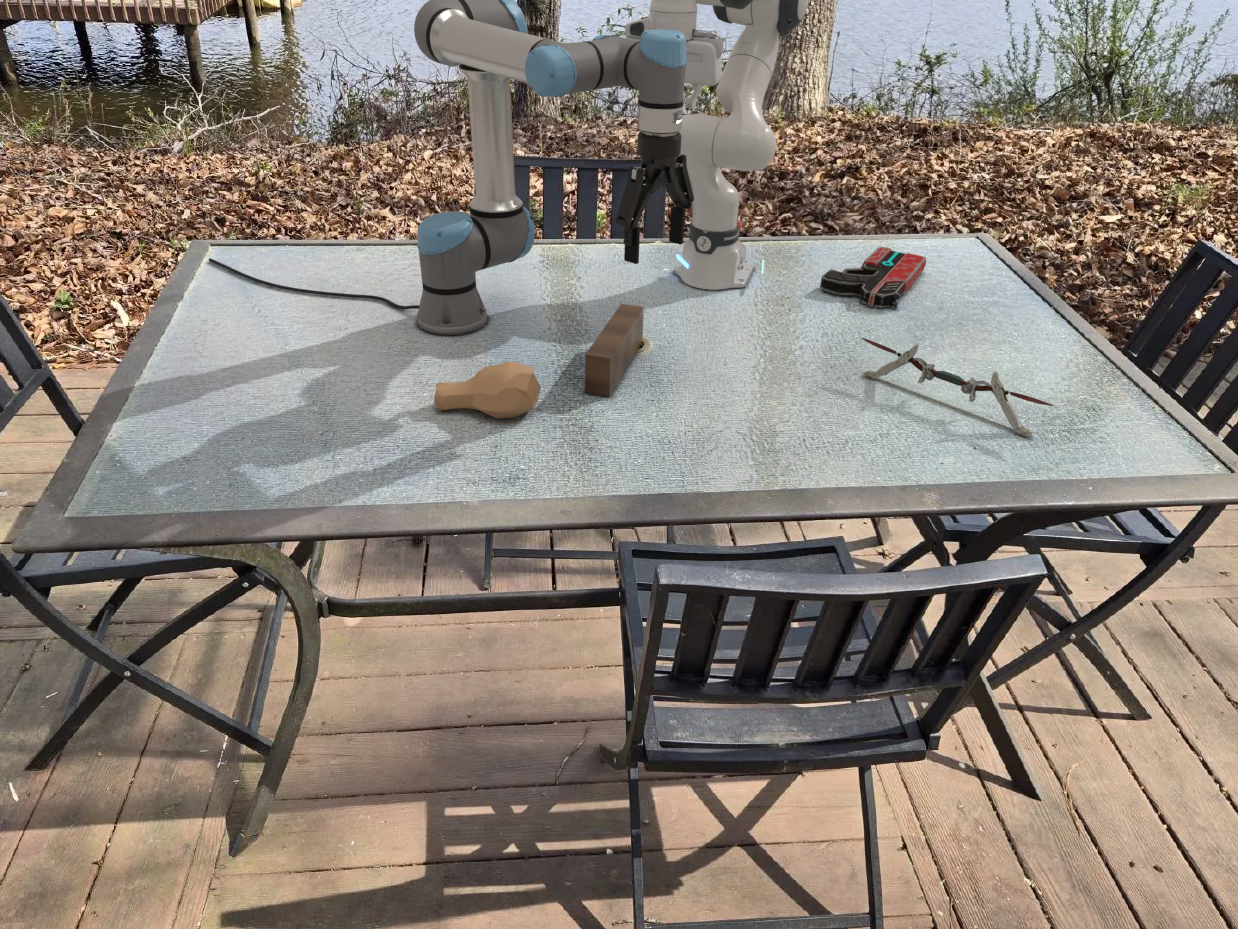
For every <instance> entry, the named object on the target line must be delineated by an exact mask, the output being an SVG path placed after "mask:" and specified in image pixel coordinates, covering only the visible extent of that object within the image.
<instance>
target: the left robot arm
mask: <svg viewBox="0 0 1238 929" xmlns="http://www.w3.org/2000/svg"><path fill="white" fill-rule="evenodd" d="M413 24H414V25H413V33H414V39H415V42H416V44H417V46H418V49H419V50H420V51H421V53H422V54H423V55H424V56H425V57H426V58H427V59H429V60H431V61H432V62H435V63H437V64H440V65H444V66H446V67H458V69H459V71H460V72H461V73H462V74H463V75H464V76H465V77H466V80H467V94H468V105H469V106H468V107H469V118H470V132H471V134H470V136H471V146H472V147H471V148H472V158H473V159H472V161H473V174H474V175H473V176H474V189H475V196H473V198H472V199H471V200H470V201H469V214H468V213H466V212H464V211H458V210H451V211H442V212H436V213H434V214H432V215H429V216H427V217H426V218H424V219H423V220H422V221H421V222H420V224H419V225H418V227H417V230H416V233H417V238H416V239H417V242H416V246H417V250H418V258H419V264H420V266H419V267H420V275H421V276H420V277H421V284H422V292H421V297H420V302H419V304H417V305H400V304H397V303H395V302H393V301H391V300H390V299H387V298H385V297H382V296H378V295H368V294H355V293H353V294H352V293H344V292H332V291H331V292H330V291H320V290H313V289H305V288H297V287H292V286H287V285H283V284H278V283H273V282H269V281H266V280H262V279H259V278H256V277H253V276H251V275H248V274H246V273H243V272H241V271H240V270H237V269H235V268H233V267H231V266H228V265H227V264H224V263H222V262H220V261H218V260H215V259H213V258H211V257H210V258H208V261H209V262H210V263H212V264H215V265H216V266H219V267H221V268H223V269H225V270H228V271H229V272H231V273H234V274H235V275H239V276H241V277H243V278H245V279H248V280H251V281H253V282H256V283H259V284H262V285H265V286H268V287H272V288H275V289H276V288H277V289H281V290H287V291H292V292H297V293H303V294H311V295H320V296H331V297H343V298H352V299H353V298H354V299H370V300H376V301H381V302H384V303H386V304H388V305H390V306H392V307H394V308H396V309H399V310H417V309H418V310H417V313H416V318H417V325H418V326H419V328H420V329H421V330H423V331H424V332H427V333H430V334H433V335H440V336H459V335H465V334H469V333H473V332H476V331H477V330H480V329H481V328H483V327H484V326H485V325H486V323H487V320H488V316H487V309H486V306H485V304H484V302H483V299H482V298H481V295H480V293H479V291H478V288H477V278H476V277H477V276H476V273H477V272H479V271H483V270H486V269H489V268H493V267H496V266H500V265H505V264H508V263H513V262H515V261H516V260H519V259H521V258H524V257H525V256H527V255H528V254H529V253H530V251H531V250H532V248H533V246H534V242H535V239H536V238H535V237H536V228H535V227H536V226H535V222H534V220H533V219H532V214H531V212H530V211H529V210H528V209H527V208H526V207H525V206H524V203H523V202H524V201H522V199H521V198H520V197H519V196H518V195H517V194H516V180H515V158H514V139H513V138H514V137H513V117H512V96H511V80H514V81H517V82H520V83H524V84H527V85H528V86H529V88H530V89H532V90H533V92H534V94H535V95H537V96H538V97H541V98H549V97H553V98H560V97H563V96H566V95H572V94H577V93H584V92H589V91H596V90H597V91H598V90H602V89H608V88H610V89H611V88H616V87H623V88H627V89H628V88H629V89H631V90H632V89H633V90H636V91H638V109H637V128H638V130H639V132H638V133H637V145H636V152H637V155H638V156H639V157H640V158H641V163H640V166H638V167H637V166H633V165H631V166H629V167H628V174H627V181H626V185H625V188H624V192H623V195H622V197H621V201H620V205H619V207H618V211H617V214H616V217H615V225H618V226H621V227H623V245H624V254H623V255H624V256H623V257H624V258H623V260H624V261H625V262H628V263H631V264H634V265H637V264H639V263H640V241H641V240H640V237H641V236H640V235H641V227H640V226H638V224H639V222H640V220H641V217H642V216H643V213H644V211H645V209H646V207H647V205H648V203H649V200H650V198H651V196H652V195H653V194H655V193H656V191H657V190H659V189H661V188H662V187H664V189H665V191H666V192H667V194H668V196H669V198H670V200H671V201H672V203H673V206H670V217H669V218H670V219H669V221H670V222H669V233H668V234H669V236H668V242H670V243H673V244H676V245H684V237H685V236H684V235H685V234H684V233H685V223H686V210H690V209H692V207H693V201H694V195H693V191H692V187H691V183H690V179H689V175H688V171H687V157H686V155H684V154H680V153H681V137H682V136H681V134H680V133H679V131H680V130H681V129H682V115H683V112H684V111H683V110H684V109H683V108H684V95H685V83H684V82H685V71H686V64H687V59H686V38H685V35H684V34H683V33H681V32H679V31H675V30H665V29H654V30H647V31H644V32H643V33H642V35H641V41H639V40H634V39H628V38H627V37H623V36H620V35H618V34H599V35H597V36H595V37H594V38H593V39H592V40H585V41H584V40H583V41H576V42H562V41H561V42H560V41H556V40H553V39H549V38H545V37H542V36H538V35H533V34H529V31H528V25H527V21H526V17H525V15H524V13H523V11H522V8H520V7H519V5H518V2H517V1H516V0H428V1H426V2H425V3H424V4H423V5H422V6H421V8H420V9H419V10H418V12H417V14H416V16H415V19H414V22H413Z"/></svg>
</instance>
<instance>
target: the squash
mask: <svg viewBox="0 0 1238 929" xmlns="http://www.w3.org/2000/svg"><path fill="white" fill-rule="evenodd" d="M541 388H542V387H541V385H540V383H539V381H538V379H537V377H536V375H535V372H534V368H533V367H532V366H529V365H526V364H523V363H520V362H516V361H515V362H514V361H511V360H510V361H506V362H502V363H499V364H495V365H494V364H493V365H489V366H484V367H482V368H481V369H480V370H478V371H477V372H476V374H475V375H473V376H472V377H470V378H469V379H467V380H464V381H457V382H455V381H454V382H437V383H435V392H434V398H433V404H434V405H435V406H436V407H437V408H438V409H439V410H440V411H447V410H453V409H456V410H457V409H471V410H476V411H480V412H482V413H483V414H485V415H488V416H490V417H493V418H494V419H515V418H517V417H519V416H522V415H523V414H525V413H528V412H530V411H531V410H533V409H534V408H535V407H536V405H537V403H538V402H539V397H540V392H541Z"/></svg>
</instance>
